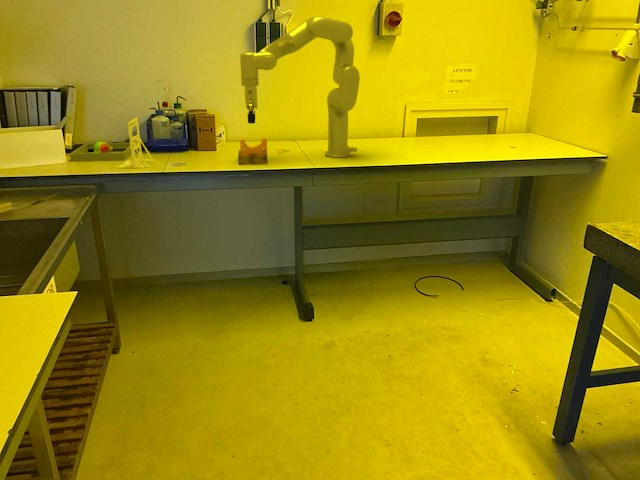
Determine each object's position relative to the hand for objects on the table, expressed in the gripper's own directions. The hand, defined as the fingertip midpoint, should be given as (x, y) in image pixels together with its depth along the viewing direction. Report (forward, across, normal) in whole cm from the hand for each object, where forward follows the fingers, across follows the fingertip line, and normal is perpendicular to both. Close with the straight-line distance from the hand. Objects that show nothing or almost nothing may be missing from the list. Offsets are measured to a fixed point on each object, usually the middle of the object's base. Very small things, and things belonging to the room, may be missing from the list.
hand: (251, 121), depth 233 cm
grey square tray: (+18, +18, +71) cm, 75 cm away
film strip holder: (+18, -3, +52) cm, 55 cm away
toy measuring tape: (+18, +16, +75) cm, 78 cm away
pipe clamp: (+14, 0, 0) cm, 14 cm away
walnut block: (+18, 0, 0) cm, 18 cm away
